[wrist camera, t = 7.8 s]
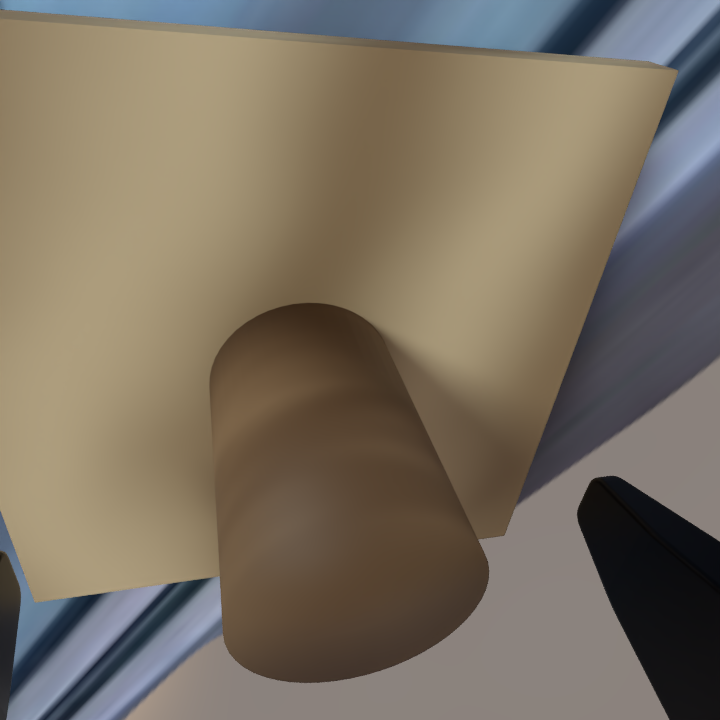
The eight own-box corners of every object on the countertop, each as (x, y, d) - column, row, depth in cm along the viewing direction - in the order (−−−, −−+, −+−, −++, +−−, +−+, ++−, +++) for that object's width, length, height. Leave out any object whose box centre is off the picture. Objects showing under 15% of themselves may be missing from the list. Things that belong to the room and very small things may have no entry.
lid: (648, 61, 10) (1005, 171, 6) (492, 513, 17) (601, 723, 13) (-158, -3, 7) (-687, 120, 3) (41, 573, 14) (-24, 873, 10)
